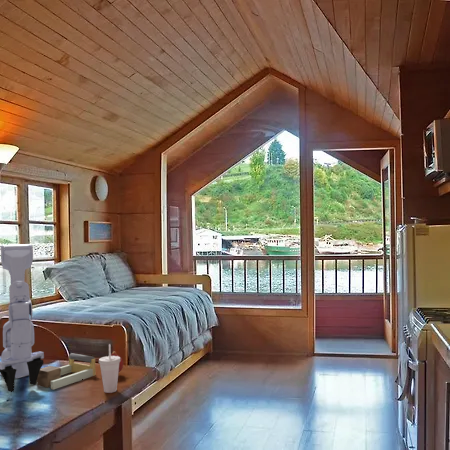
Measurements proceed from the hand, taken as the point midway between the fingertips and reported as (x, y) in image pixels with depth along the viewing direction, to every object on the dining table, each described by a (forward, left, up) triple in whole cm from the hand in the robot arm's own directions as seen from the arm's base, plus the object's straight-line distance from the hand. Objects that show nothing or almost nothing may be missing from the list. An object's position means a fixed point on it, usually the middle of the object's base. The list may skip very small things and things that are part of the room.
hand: (22, 387), depth 156 cm
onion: (+12, +26, -2) cm, 29 cm away
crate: (0, +10, -2) cm, 10 cm away
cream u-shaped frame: (0, +15, -2) cm, 15 cm away
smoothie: (+22, +14, -2) cm, 26 cm away
